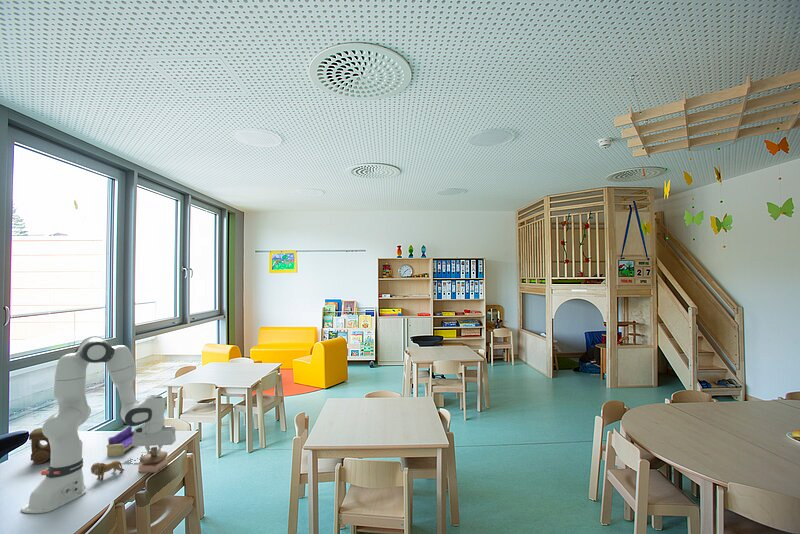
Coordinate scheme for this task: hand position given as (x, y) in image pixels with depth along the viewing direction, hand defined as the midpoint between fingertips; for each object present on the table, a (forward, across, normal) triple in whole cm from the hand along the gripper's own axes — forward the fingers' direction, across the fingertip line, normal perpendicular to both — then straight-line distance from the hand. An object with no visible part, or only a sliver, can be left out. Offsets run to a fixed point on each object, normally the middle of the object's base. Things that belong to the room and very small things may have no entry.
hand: (154, 453), depth 200 cm
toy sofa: (+8, +29, -27) cm, 41 cm away
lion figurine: (+8, +18, +8) cm, 21 cm away
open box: (+8, 0, 0) cm, 8 cm away
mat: (+8, +12, -12) cm, 18 cm away
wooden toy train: (+8, +60, -17) cm, 63 cm away
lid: (+2, 0, 0) cm, 2 cm away
